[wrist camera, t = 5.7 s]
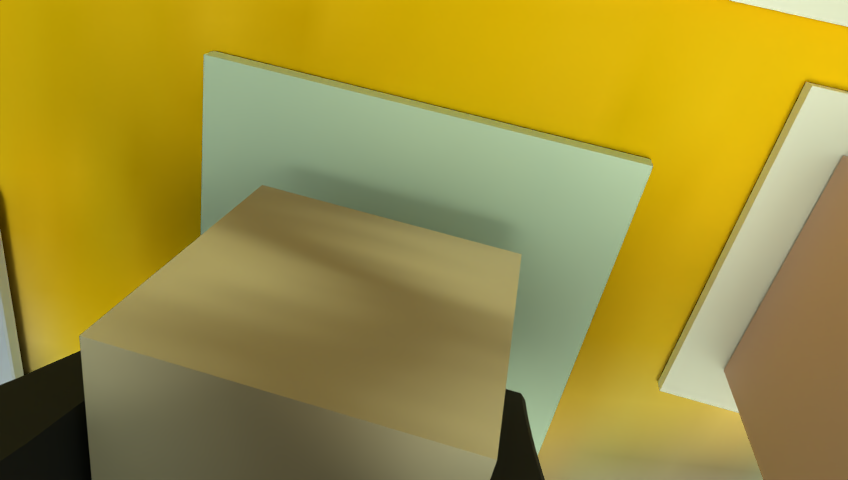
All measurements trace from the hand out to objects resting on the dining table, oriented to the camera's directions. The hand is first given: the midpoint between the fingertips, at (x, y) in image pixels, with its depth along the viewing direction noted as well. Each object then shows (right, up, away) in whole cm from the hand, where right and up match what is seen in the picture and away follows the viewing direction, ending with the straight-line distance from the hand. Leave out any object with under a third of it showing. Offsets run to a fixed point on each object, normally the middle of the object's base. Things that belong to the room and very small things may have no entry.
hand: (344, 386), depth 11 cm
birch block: (0, +1, +1) cm, 2 cm away
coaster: (+1, +2, +3) cm, 3 cm away
